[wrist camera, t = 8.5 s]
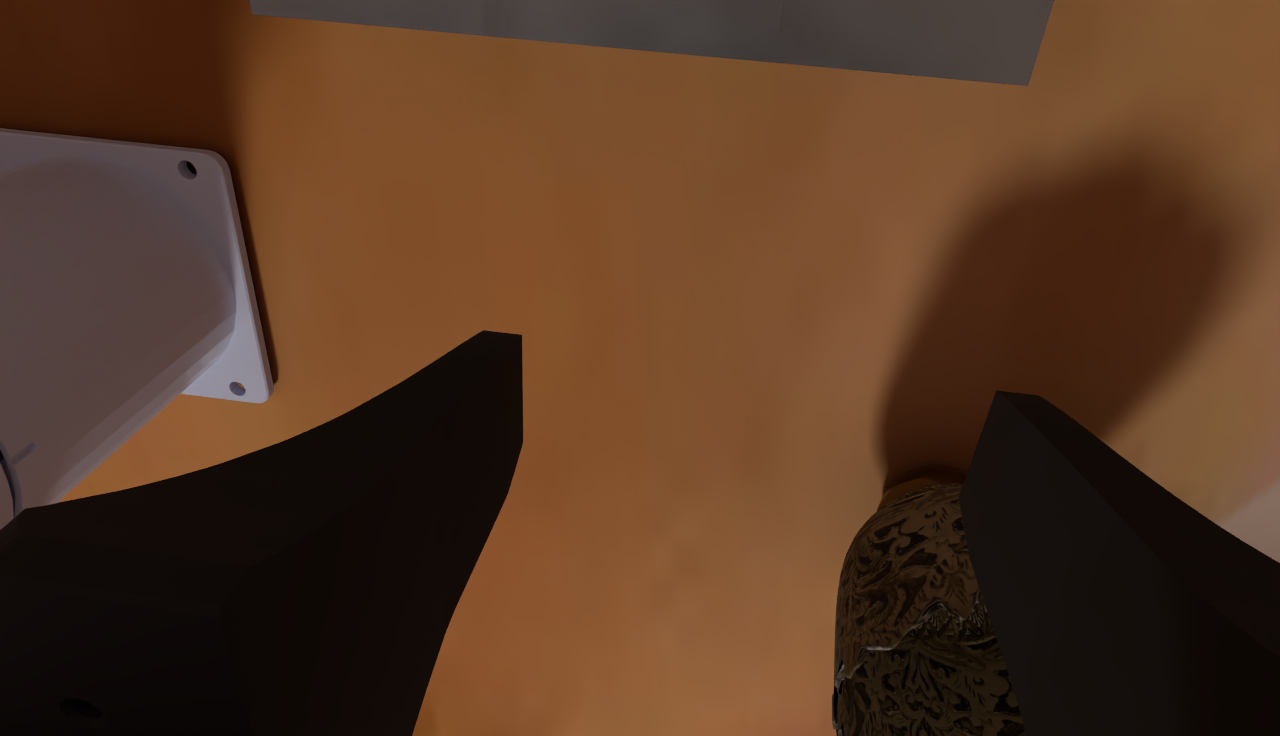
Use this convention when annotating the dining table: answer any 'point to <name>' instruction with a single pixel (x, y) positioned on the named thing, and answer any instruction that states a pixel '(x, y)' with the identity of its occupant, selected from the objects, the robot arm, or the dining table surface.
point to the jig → (740, 29)
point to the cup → (917, 623)
